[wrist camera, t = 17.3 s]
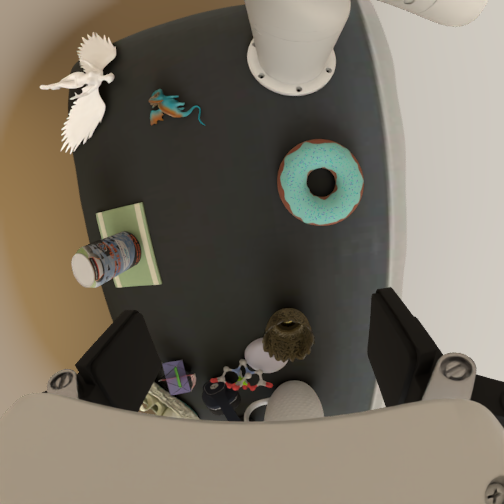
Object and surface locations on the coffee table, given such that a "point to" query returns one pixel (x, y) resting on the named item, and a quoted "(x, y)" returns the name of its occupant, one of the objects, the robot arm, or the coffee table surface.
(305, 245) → the coffee table surface
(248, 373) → the molecular model
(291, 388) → the mug
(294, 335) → the cup
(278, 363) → the white pebble
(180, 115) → the dragon figurine
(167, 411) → the ballet flat
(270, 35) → the robot arm
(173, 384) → the green polyhedron model
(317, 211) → the donut
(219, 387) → the earphone
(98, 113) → the figurine
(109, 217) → the towel mat
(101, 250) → the beverage can
